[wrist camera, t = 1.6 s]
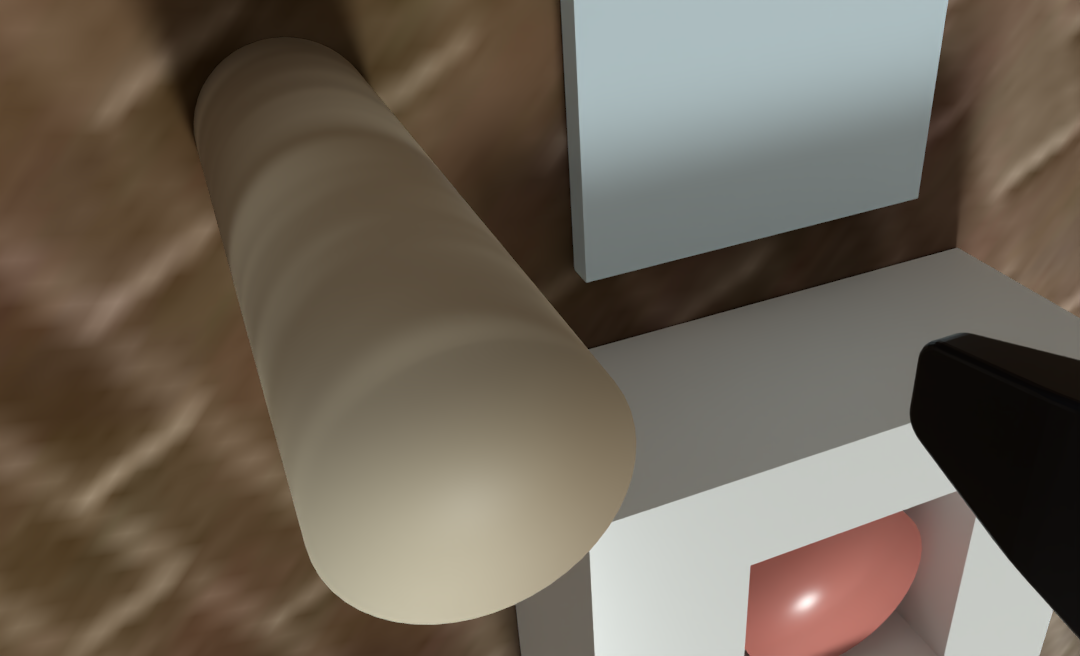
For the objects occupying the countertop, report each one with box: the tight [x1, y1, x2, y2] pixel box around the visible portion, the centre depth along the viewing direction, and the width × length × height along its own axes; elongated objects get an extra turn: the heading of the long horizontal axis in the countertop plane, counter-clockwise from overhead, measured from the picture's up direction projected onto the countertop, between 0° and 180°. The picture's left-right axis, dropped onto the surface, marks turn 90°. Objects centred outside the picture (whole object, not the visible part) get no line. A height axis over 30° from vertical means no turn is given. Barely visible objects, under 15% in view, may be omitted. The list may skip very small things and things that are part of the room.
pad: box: [560, 0, 948, 283], centre depth 19 cm, size 8×6×1 cm
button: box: [745, 511, 922, 656], centre depth 22 cm, size 5×5×2 cm
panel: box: [516, 248, 1080, 656], centre depth 23 cm, size 12×10×5 cm
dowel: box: [193, 37, 636, 625], centre depth 12 cm, size 3×3×10 cm
